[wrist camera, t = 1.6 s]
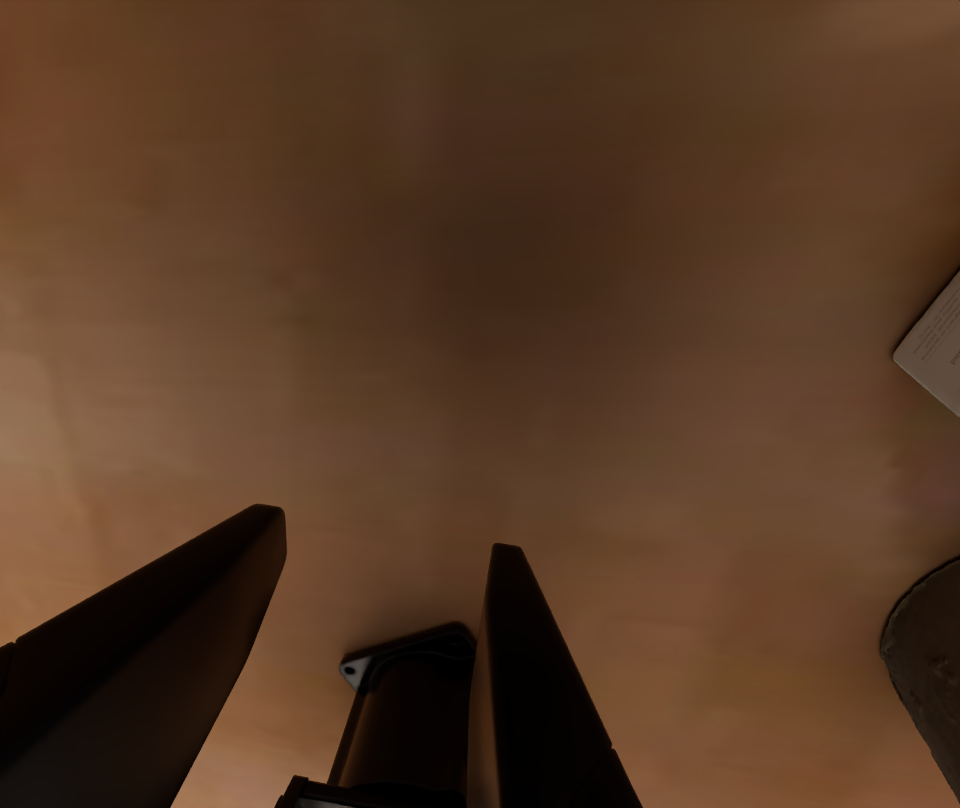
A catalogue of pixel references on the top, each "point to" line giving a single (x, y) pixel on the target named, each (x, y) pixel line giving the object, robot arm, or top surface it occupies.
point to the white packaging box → (936, 348)
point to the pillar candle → (930, 665)
